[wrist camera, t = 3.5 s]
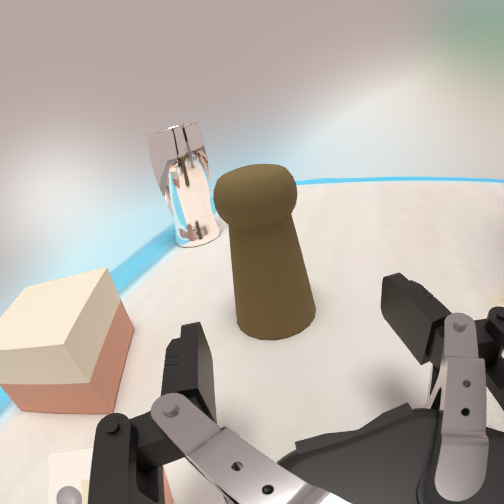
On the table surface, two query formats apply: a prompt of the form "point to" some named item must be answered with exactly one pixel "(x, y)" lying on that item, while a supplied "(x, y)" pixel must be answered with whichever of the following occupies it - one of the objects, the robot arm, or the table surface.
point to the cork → (265, 251)
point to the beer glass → (184, 182)
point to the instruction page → (78, 476)
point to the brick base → (84, 392)
